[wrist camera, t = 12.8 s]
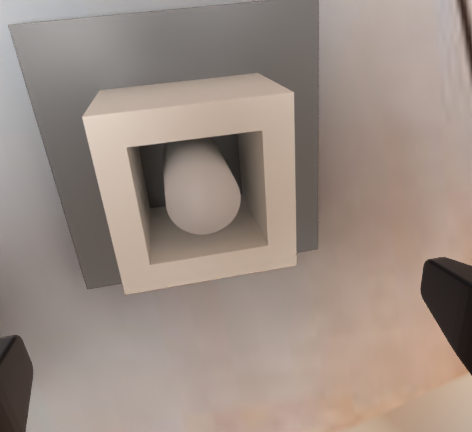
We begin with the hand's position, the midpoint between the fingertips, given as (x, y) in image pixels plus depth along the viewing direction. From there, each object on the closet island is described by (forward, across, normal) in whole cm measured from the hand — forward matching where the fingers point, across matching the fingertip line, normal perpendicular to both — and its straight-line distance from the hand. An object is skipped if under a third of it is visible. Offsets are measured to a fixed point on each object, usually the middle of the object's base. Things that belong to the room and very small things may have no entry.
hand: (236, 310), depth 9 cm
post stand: (+12, 0, 0) cm, 12 cm away
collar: (+11, 0, 0) cm, 11 cm away
